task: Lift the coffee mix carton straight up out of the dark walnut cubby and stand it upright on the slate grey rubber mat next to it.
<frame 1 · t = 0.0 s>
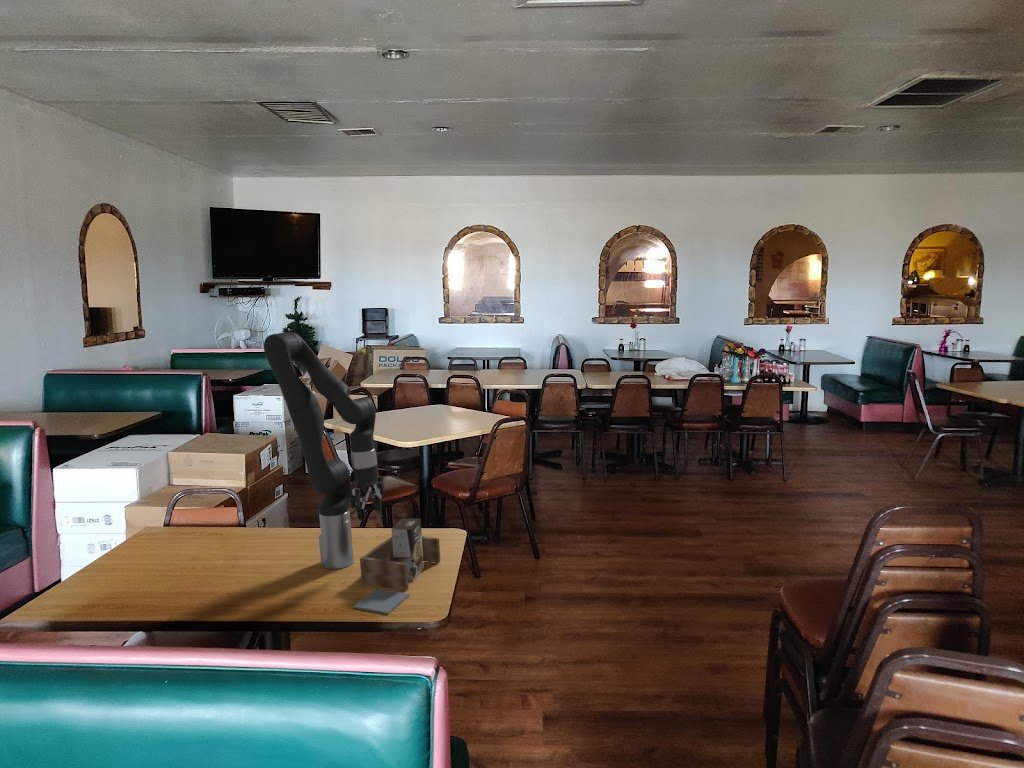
hand: (370, 515, 211), 17 cm above the table, tool pointing down, fingers open, 8 cm apart
coffee box: (409, 574, 209), resting in cubby
mat: (382, 602, 192), on the table
cubby: (409, 573, 209), on the table
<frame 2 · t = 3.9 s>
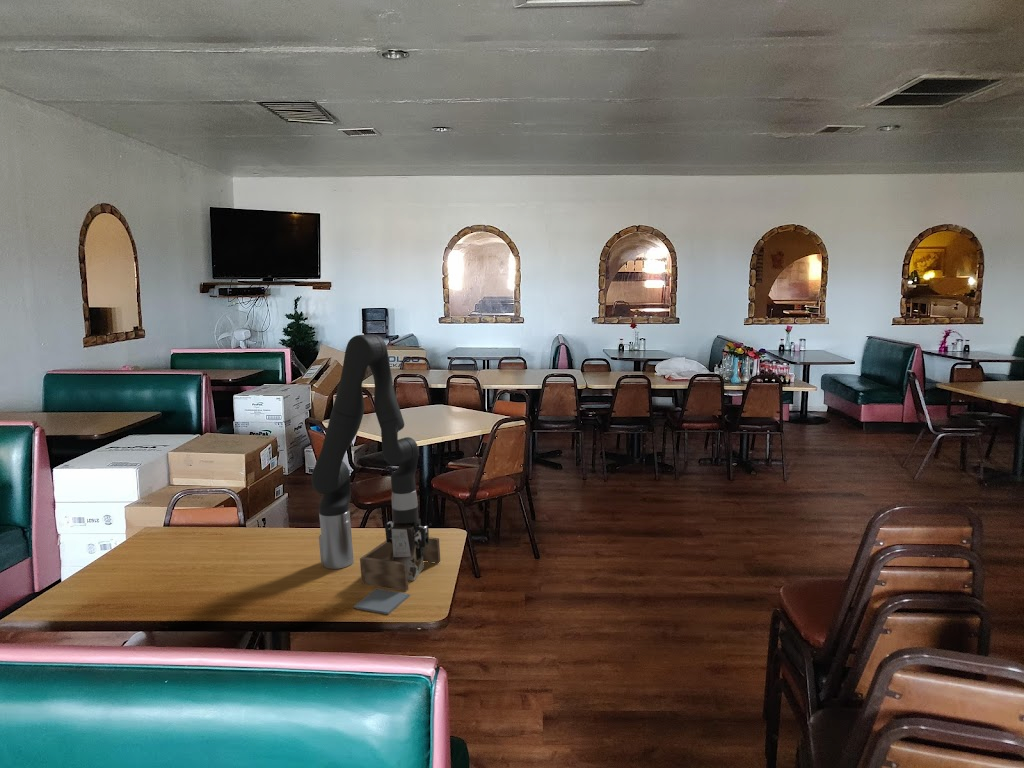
hand: (408, 557, 208), 5 cm above the table, tool pointing down, fingers closed on coffee box, 7 cm apart
coffee box: (409, 574, 209), resting in cubby, touching gripper
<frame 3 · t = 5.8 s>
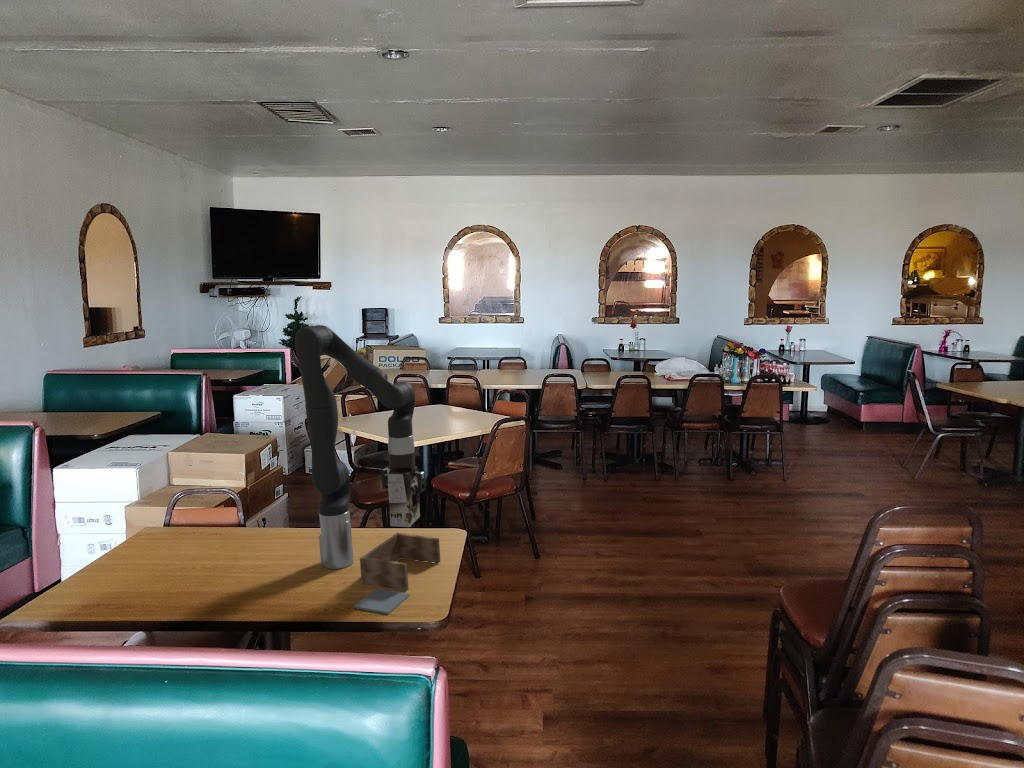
hand: (404, 504, 205), 22 cm above the table, tool pointing down, fingers closed on coffee box, 7 cm apart
coffee box: (405, 522, 206), point 16 cm above the table, touching gripper
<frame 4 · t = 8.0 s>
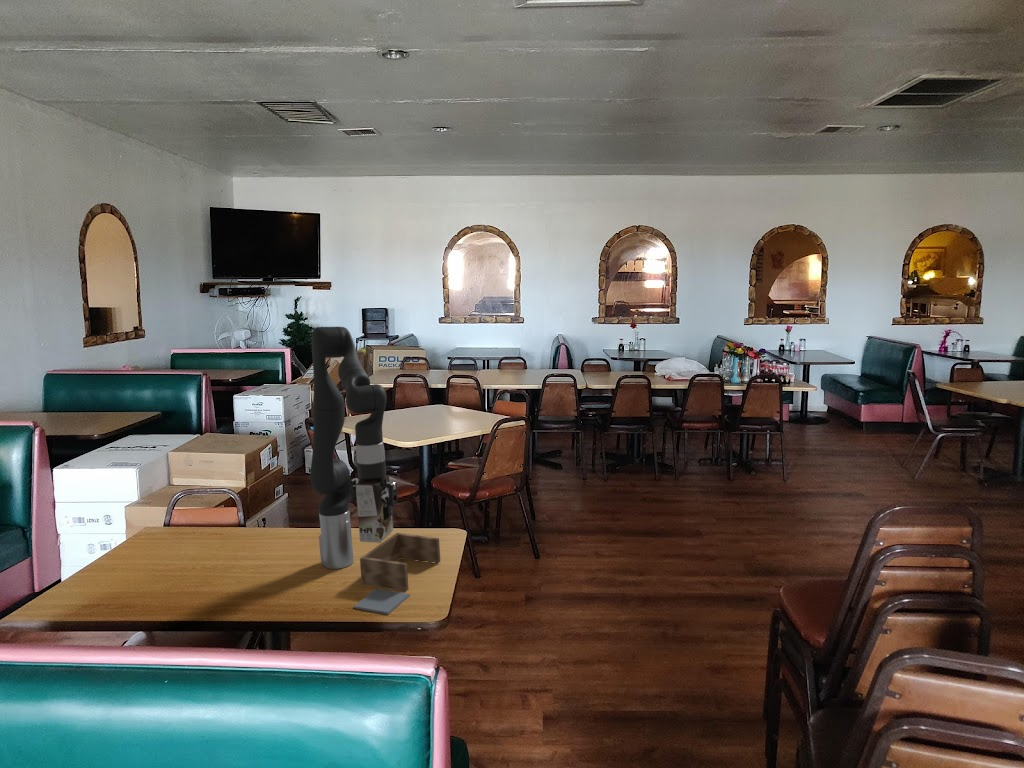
hand: (375, 517, 188), 25 cm above the table, tool pointing down, fingers closed on coffee box, 7 cm apart
coffee box: (377, 536, 189), point 19 cm above the table, touching gripper
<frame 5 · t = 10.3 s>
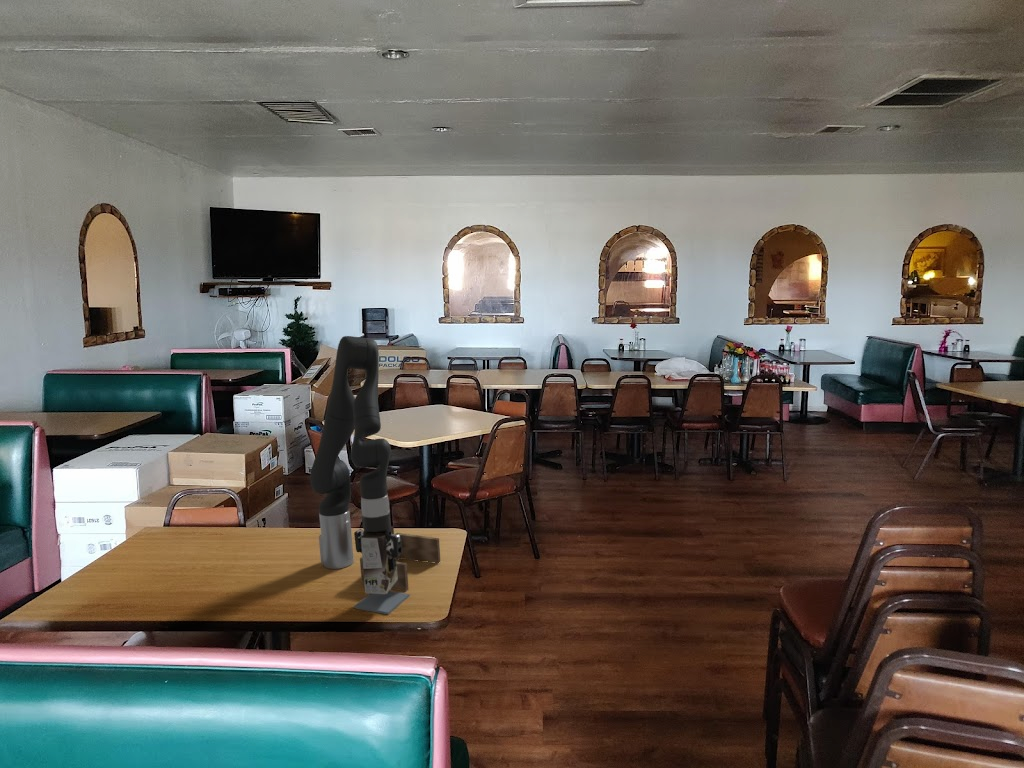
hand: (380, 568, 190), 10 cm above the table, tool pointing down, fingers closed on coffee box, 7 cm apart
coffee box: (382, 587, 191), point 4 cm above the table, touching gripper
when the fingers open (7 cm above the table, at t = 12.0 s): coffee box drops 1 cm, resting on mat.
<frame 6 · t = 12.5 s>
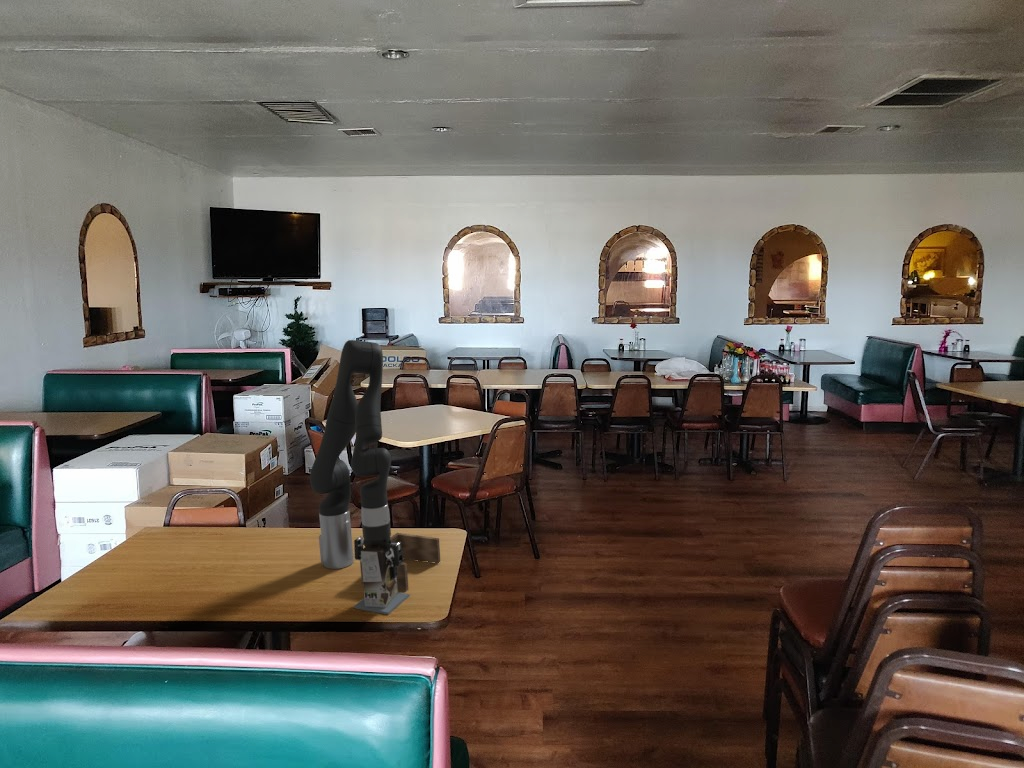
hand: (380, 576, 191), 8 cm above the table, tool pointing down, fingers open, 8 cm apart
coffee box: (381, 600, 192), resting on mat
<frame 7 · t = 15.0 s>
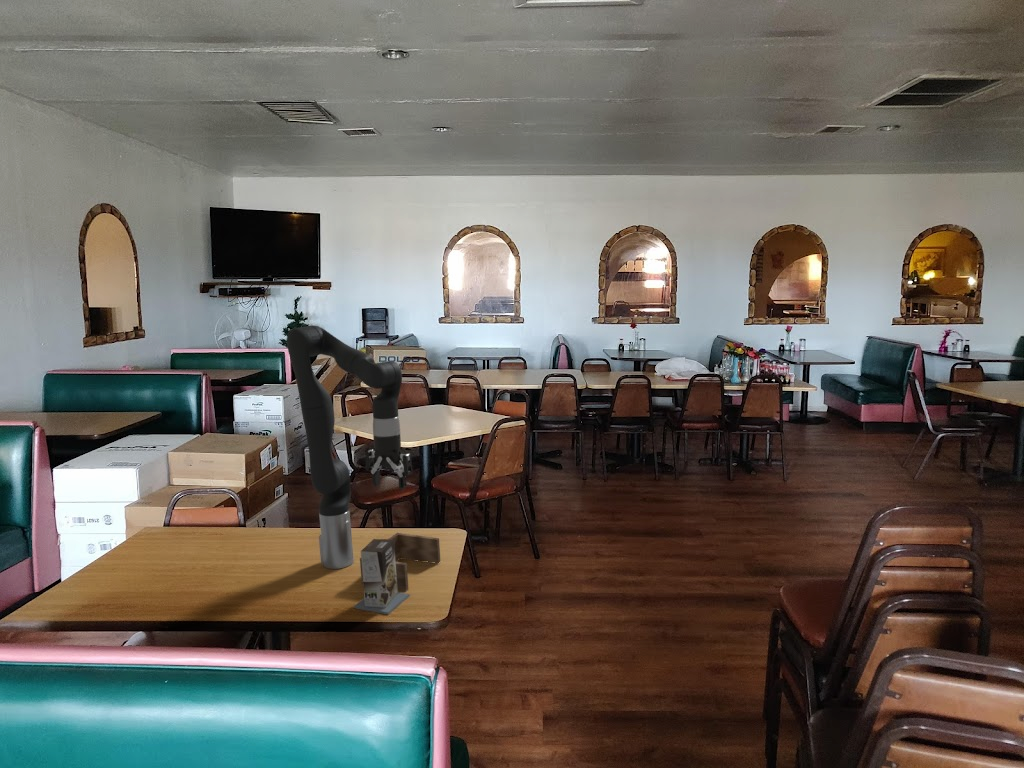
hand: (389, 487, 198), 29 cm above the table, tool pointing down, fingers open, 8 cm apart
nothing on the table moved.
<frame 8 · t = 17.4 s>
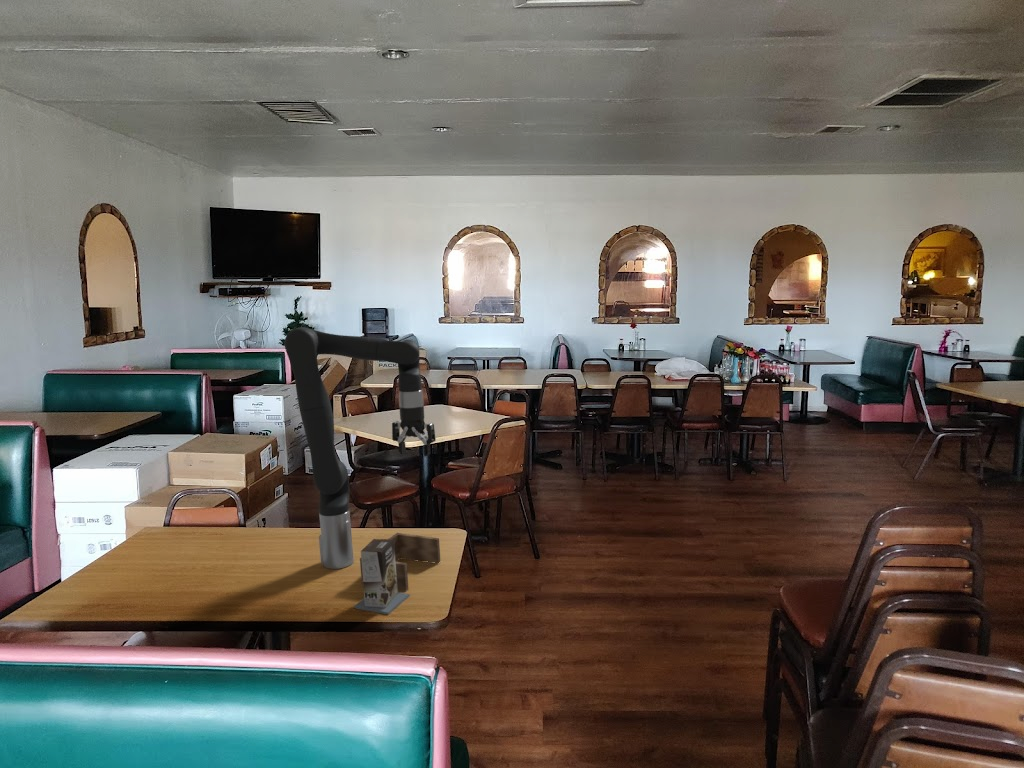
hand: (414, 454, 218), 33 cm above the table, tool pointing down, fingers open, 8 cm apart
nothing on the table moved.
at the end: coffee box inside the target area on the mat (0.3 cm from its centre), point 0.4 cm above the mat's base; coffee box tilted 0°; the gripper is holding nothing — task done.
